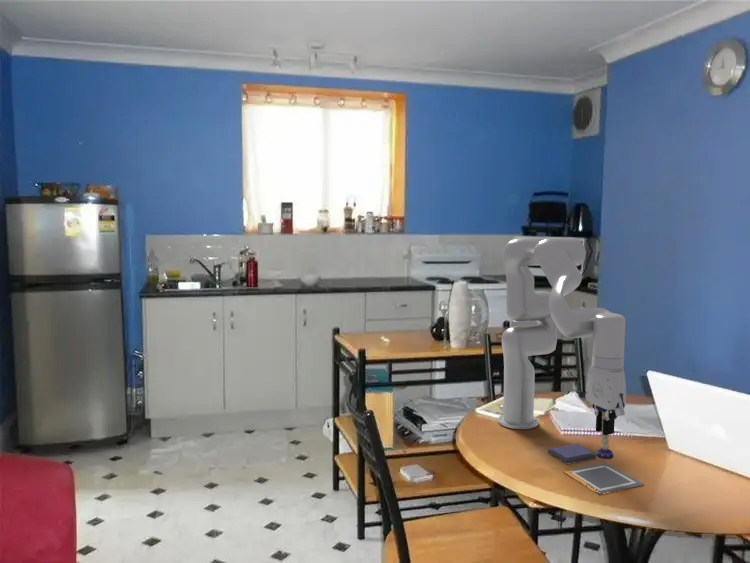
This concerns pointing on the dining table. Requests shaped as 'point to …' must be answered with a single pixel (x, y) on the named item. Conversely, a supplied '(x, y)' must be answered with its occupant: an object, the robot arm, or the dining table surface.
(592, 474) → the marked board
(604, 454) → the toy lamp
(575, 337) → the robot arm
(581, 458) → the ink pad
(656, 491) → the dining table surface
